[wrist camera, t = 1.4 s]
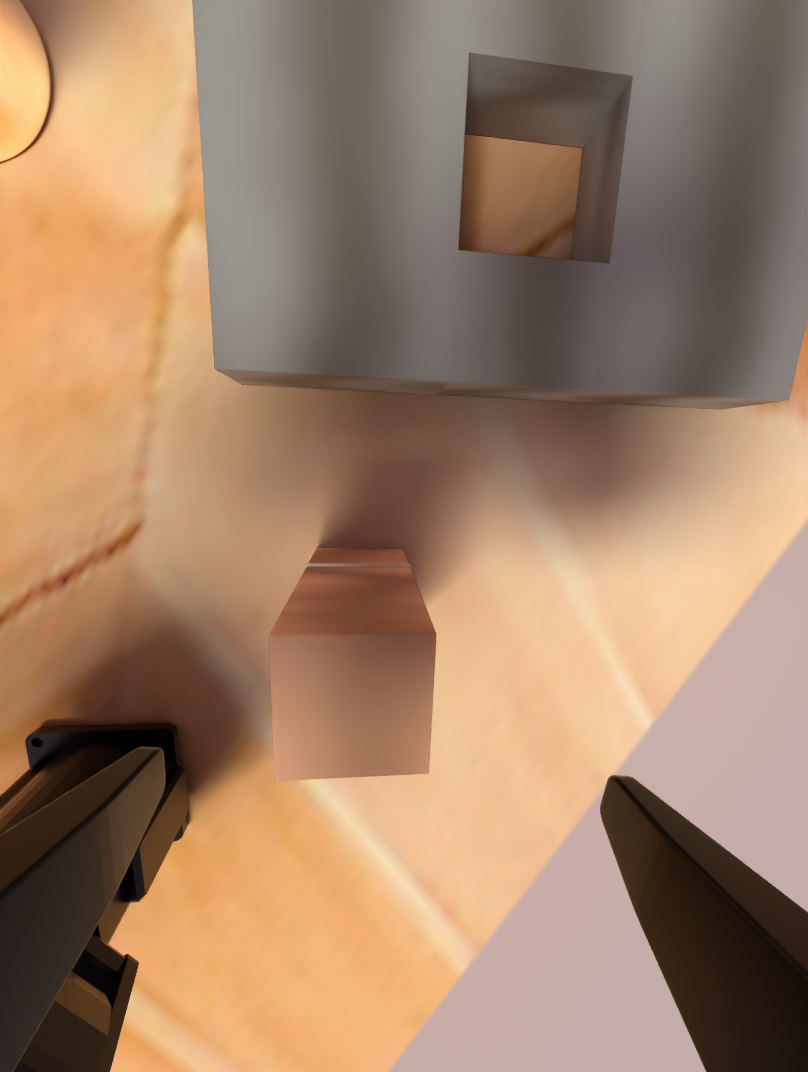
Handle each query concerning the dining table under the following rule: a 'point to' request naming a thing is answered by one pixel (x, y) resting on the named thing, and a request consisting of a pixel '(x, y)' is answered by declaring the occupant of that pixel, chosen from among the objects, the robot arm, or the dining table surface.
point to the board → (436, 183)
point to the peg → (352, 669)
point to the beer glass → (21, 80)
